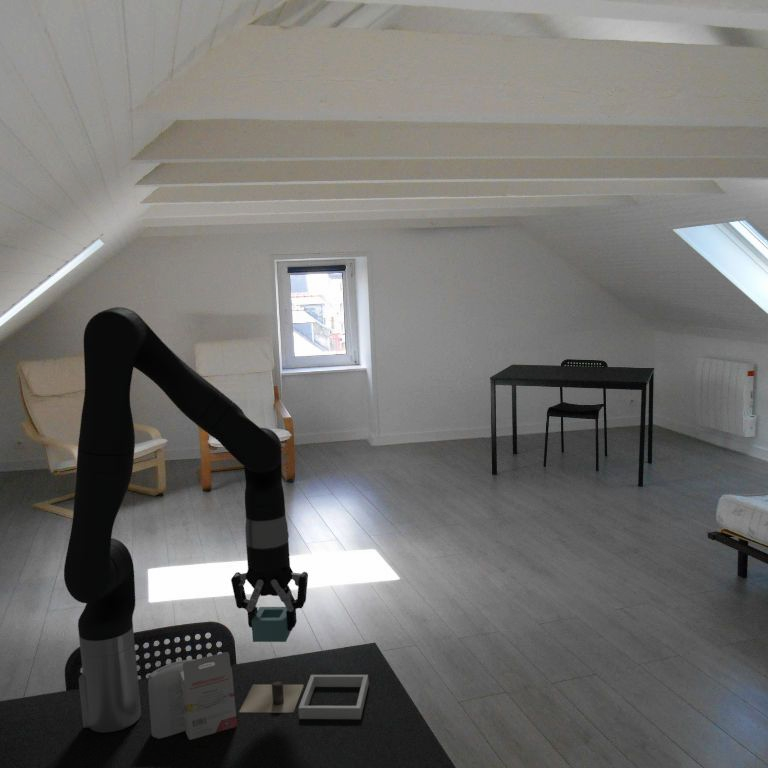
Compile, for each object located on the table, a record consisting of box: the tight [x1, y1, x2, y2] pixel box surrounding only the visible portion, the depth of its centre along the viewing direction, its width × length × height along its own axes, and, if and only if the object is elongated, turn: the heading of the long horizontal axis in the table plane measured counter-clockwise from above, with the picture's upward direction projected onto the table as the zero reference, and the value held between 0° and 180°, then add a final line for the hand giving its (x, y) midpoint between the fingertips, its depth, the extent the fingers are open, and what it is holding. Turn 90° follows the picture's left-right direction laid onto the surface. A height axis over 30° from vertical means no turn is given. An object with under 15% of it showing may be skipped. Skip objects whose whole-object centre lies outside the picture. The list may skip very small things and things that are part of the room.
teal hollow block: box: [251, 606, 292, 643], centre depth 147 cm, size 6×8×4 cm
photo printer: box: [147, 659, 194, 740], centre depth 140 cm, size 10×4×12 cm, turn 121°
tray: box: [298, 674, 370, 720], centre depth 147 cm, size 11×12×3 cm
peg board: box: [238, 681, 305, 714], centre depth 149 cm, size 10×10×4 cm
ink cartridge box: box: [180, 651, 238, 741], centre depth 140 cm, size 9×5×15 cm, turn 115°
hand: (273, 628), depth 146 cm, fingers closed on teal hollow block, 6 cm apart
